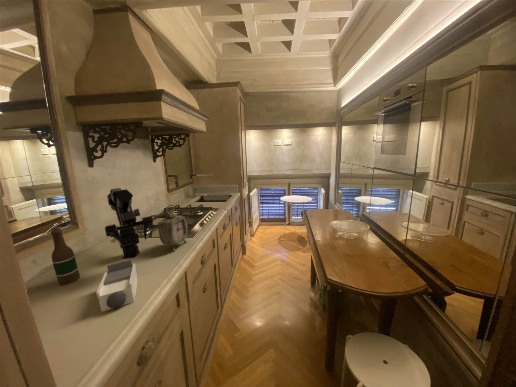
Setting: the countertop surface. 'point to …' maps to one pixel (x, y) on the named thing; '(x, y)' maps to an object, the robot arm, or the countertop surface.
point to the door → (119, 271)
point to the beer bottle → (63, 260)
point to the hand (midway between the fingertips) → (134, 242)
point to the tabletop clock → (173, 229)
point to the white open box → (117, 292)
